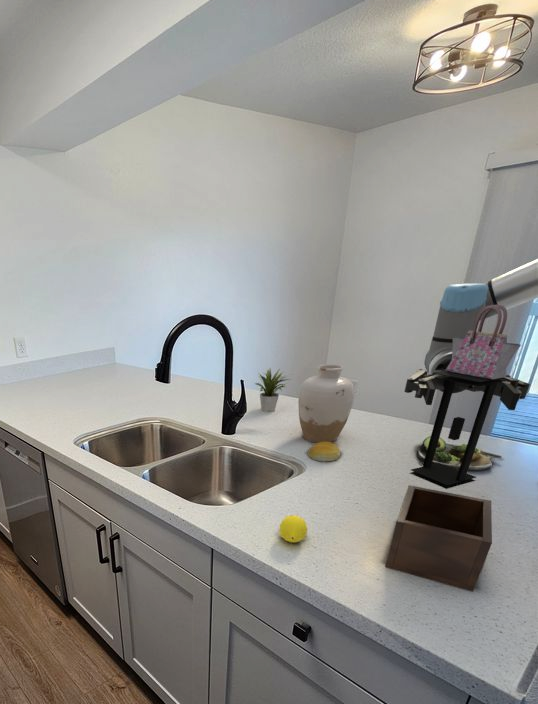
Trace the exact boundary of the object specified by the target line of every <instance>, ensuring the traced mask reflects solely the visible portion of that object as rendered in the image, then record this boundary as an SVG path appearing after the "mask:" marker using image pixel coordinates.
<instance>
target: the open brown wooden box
mask: <svg viewBox="0 0 538 704" xmlns="http://www.w3.org/2000/svg"><path fill="white" fill-rule="evenodd" d="M404 495H405V496H404V498H403V501H402V504H401V507H400V510H399V513H398V516H397V519H396V522H395V525H394V526H395V527H394V530H393V534H392V537H391V540H390V545H389V548H388V553H387V557H386V561H385V563H384V564H385V565H384V568H387V569H391V570H395V571H398V572H402V573H405V574H408V575H413V576H416V577H420V578H423V579H427V580H430V581H434V582H436V583H441V584H444V585H447V586H451V587H455V588H459V589H461V590H465V591H469V592H474V591H475V588H476V585H477V584H478V581H479V578H480V575H481V574H482V573H481V572H482V570H483V568H484V565H485V563H486V560H487V557H488V554H489V552H490V550H491V547H492V545H493V522H492V521H493V517H492V516H493V515H492V500H491V499H490V500H489V499H485V498H484V499H483V498H479V497H474V496H468V495H462V494H458V493H452V492H447V491H442V490H437V489H431V488H426V487H422V486H421V487H420V486H416V485H411V484H409V485H408V486H407V489H406V491H405V494H404Z"/></svg>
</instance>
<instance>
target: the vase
mask: <svg viewBox="0 0 538 704" xmlns="http://www.w3.org/2000/svg"><path fill="white" fill-rule="evenodd" d="M317 370H318V374H317V375H313V376H310V377H308V378H307V379H305V380H304V381H303V382H302V385H301V387H300V390H299V393H298V402H297V403H298V404H297V405H298V407H297V408H298V419H299V425H300V429H301V433H302V435H303V438H304V439H305V440H307V441H308V442H312V443H316V444H317V443H319V442H331V443H334V442H335V441H336V440H337V439H338V438H339V436H340V434H342V433H341V432H342V431H343V430H344V428H345V426H346V424H347V422H348V419H349V417H350V414H351V411H352V408H353V405H354V401H355V386H354V384H353V382H352V380H351V379H349V378H347V377H344V376H341V373H342V371H343V370H344V366H343V365H340V364H333V363H332V364H331V363H327V364H320V365H318V366H317Z"/></svg>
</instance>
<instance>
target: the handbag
mask: <svg viewBox="0 0 538 704" xmlns="http://www.w3.org/2000/svg"><path fill="white" fill-rule="evenodd" d="M492 309H495V310H496V311H497V313H498V314H497V321H496V325H495V328H494V331H493V332H485V331H484V332H483V327H484V323H485V321H486V319H487V318H486V316H487V314H488V313H489V311H491V310H492ZM500 309H501V310H502V311H503V312H501V310H500ZM485 311H486V312H485ZM484 312H485V313H484ZM483 313H484V315H483V317H482V319H481V321H479V320H480V318H481V316H482V314H483ZM485 318H486V319H485ZM507 320H508V310H506V308H505V307H504V306H502V305H490V306H487V307H485V308H483V309H482V310H481V312H480V313H479V315H478V317H477V319H476V321H475V325H474V328H473V331H468V333H467V335H466V337H465V338H462V337H456V338H453V350H452V360H451V362H450V364H449V366H448V367H447V369H446V372H440V373H436V374H440V375H444V376H439V377H435V378H439V379H444V380H446V384H445V387H444V391H443V392H442V395H441V398H440V402H439V406H438V410H437V413H436V417H435V420H434V423H433V427H432V431H431V434H430V436H431V438H430V441H429V445H428V448H427V452H426V456H425V459H424V463H423V462H422V465H421V466H419V467H416V468H410V471H412V472H409V474H410V475H413V476H414V477H417V478H420V479H422V480H424V481H427V482H429V483H431V484H433V485H437V486H438V487H441V488H443V489H445V490H448V489H452V488H455V487H459V486H463V485H466V484H469V483H473V482H476V479H477V478H478V477H477V476H475V475H472V474H470V473H468V472H469V470H468V469H469V466H470V463H471V460H472V457H473V454H474V451H475V448H477V444H478V442H479V440H480V436H481V433H482V430H483V427H484V424H485V421H486V418H487V415H488V412H489V409H490V406H491V403H492V400H493V397H494V395H493V394H494V391H495V388H496V385H497V383H500V382H505V381H510V380H508V379H502V378H506V377H512V375H510V374H507V368H508V366H509V365H510V363H511V361H512V359H513V358H514V356H515V354H516V353H517V352H518V350H519V349H520V347H521V346H522V345H521V344H520V343H511V342H508V339H507V338H508V334H504V333H503V332H504V330H505V327H506V324H507ZM478 323H479V324H478ZM477 326H478V327H477ZM455 382H459V383H464V384H468V385H473V387H474V386H478V387H479V386H484V385H486V388H485V391H484V392H483V395H482V397H481V400H480V403H479V406H478V410H477V413H476V416H475V419H474V422H473V425H472V429H471V432H470V434H469V437H468V441H467V444H466V445H467V447H466V450H465V453H464V456H463V459H462V462H461V465H460V468H459V470H458V469H454V468H452V467H449V466H446V465H444V464H441V463H435V464H432V462H433V458H434V455H435V451H436V448H437V444H438V441H439V437H440V438H441V434H442V431H443V426H444V423H445V420H446V416H447V413H448V410H449V406H450V403H451V400H452V396H453V393H452V392H453V389H454V386H455ZM465 422H466V418H465V417H460V416H457V417H453V420H452V423H451V426H450V430H449V433H448V436H447V439H448V440H452V441H457V440H460V437H461V435H462V432H463V428H464V424H465Z"/></svg>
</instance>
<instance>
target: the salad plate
mask: <svg viewBox="0 0 538 704" xmlns="http://www.w3.org/2000/svg"><path fill="white" fill-rule="evenodd" d="M430 438H431V435H430V436H428V437H426V438H425V439H423V441H422V442H421V443H419V444H418V445H417V448H416V453H417V458H418V460H419V461H420V462H421V463H422V464H423V463H424V459H425V456H426V452H427V448H428V445H429V441H430ZM466 447H467V444H465V443H463V444H452V443H446V441H445V440H444V439H443V438H442V437H441V436H440V437H439V441H438V444H437V448H436V451H435V455H434V458H433V462H432V464H435V463H441V464H444V465H446V466H449V467H452V468H454V469H457V470H459V468H460V465H461V462H462V459H463V456H464V453H465V450H466ZM501 458H502V455H500V454H496V453H493V452H492V453H491V452H487V451H484V450H482V448H481V447H480V448H477V447H476V448H475V451H474V454H473V457H472V460H471V463H470V466H469V469H468V471H481V470H485V469H489V468H490V467H493V463H492V461H491V459H501Z"/></svg>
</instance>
